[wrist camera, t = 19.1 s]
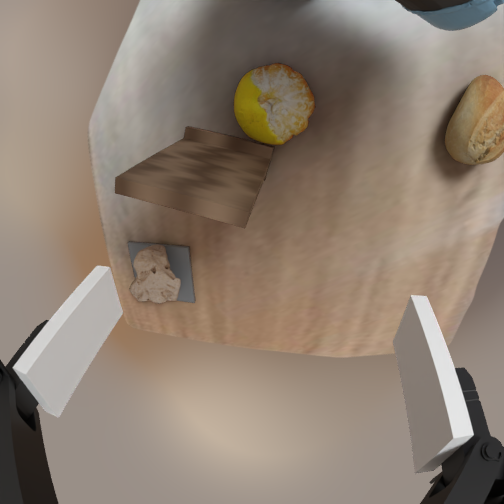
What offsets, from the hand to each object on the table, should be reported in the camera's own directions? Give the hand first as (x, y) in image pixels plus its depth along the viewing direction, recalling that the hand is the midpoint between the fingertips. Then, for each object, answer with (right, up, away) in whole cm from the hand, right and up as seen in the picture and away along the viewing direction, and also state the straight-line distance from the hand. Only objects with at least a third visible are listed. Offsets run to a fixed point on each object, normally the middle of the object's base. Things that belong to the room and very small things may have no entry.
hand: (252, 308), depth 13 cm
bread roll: (+33, +22, +22) cm, 45 cm away
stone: (-17, -1, +44) cm, 47 cm away
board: (-4, +17, +31) cm, 36 cm away
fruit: (+3, +23, +27) cm, 36 cm away
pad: (-17, -1, +44) cm, 48 cm away
